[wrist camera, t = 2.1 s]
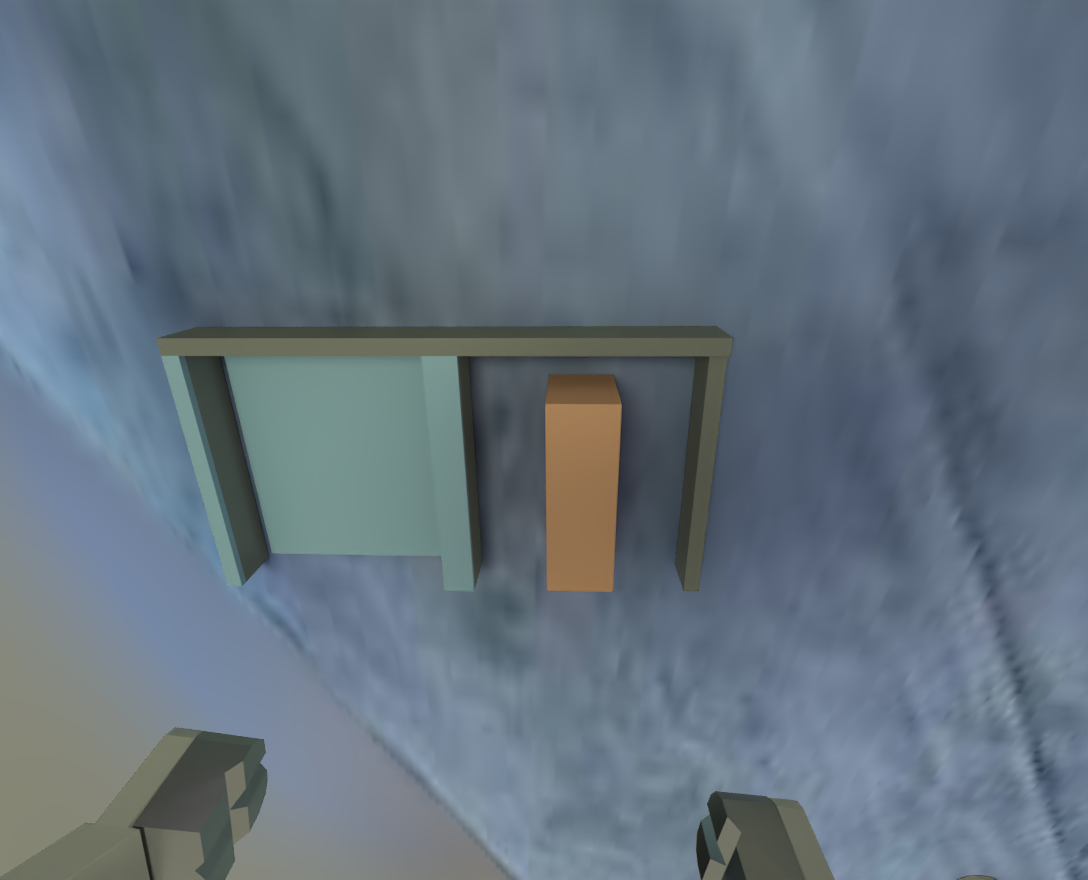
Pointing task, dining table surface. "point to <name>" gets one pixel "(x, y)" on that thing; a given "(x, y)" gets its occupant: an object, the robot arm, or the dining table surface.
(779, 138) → the dining table surface
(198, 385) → the gate frame with panel
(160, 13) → the dining table surface
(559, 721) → the dining table surface
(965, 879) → the house plant
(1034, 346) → the dining table surface
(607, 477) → the long orange rectangular block
